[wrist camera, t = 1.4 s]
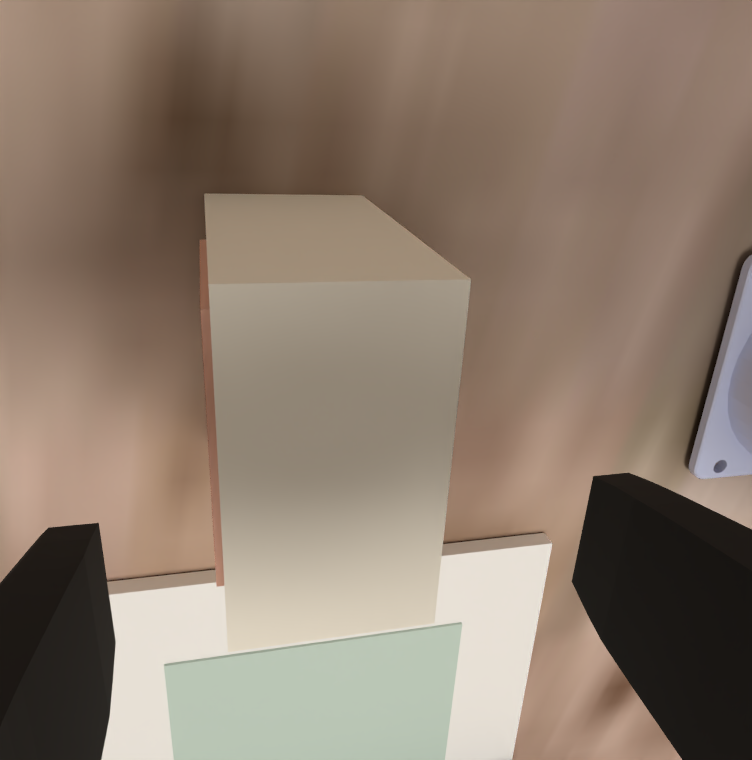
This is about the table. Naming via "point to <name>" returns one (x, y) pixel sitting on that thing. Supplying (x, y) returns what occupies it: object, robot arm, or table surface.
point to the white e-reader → (330, 671)
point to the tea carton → (326, 414)
